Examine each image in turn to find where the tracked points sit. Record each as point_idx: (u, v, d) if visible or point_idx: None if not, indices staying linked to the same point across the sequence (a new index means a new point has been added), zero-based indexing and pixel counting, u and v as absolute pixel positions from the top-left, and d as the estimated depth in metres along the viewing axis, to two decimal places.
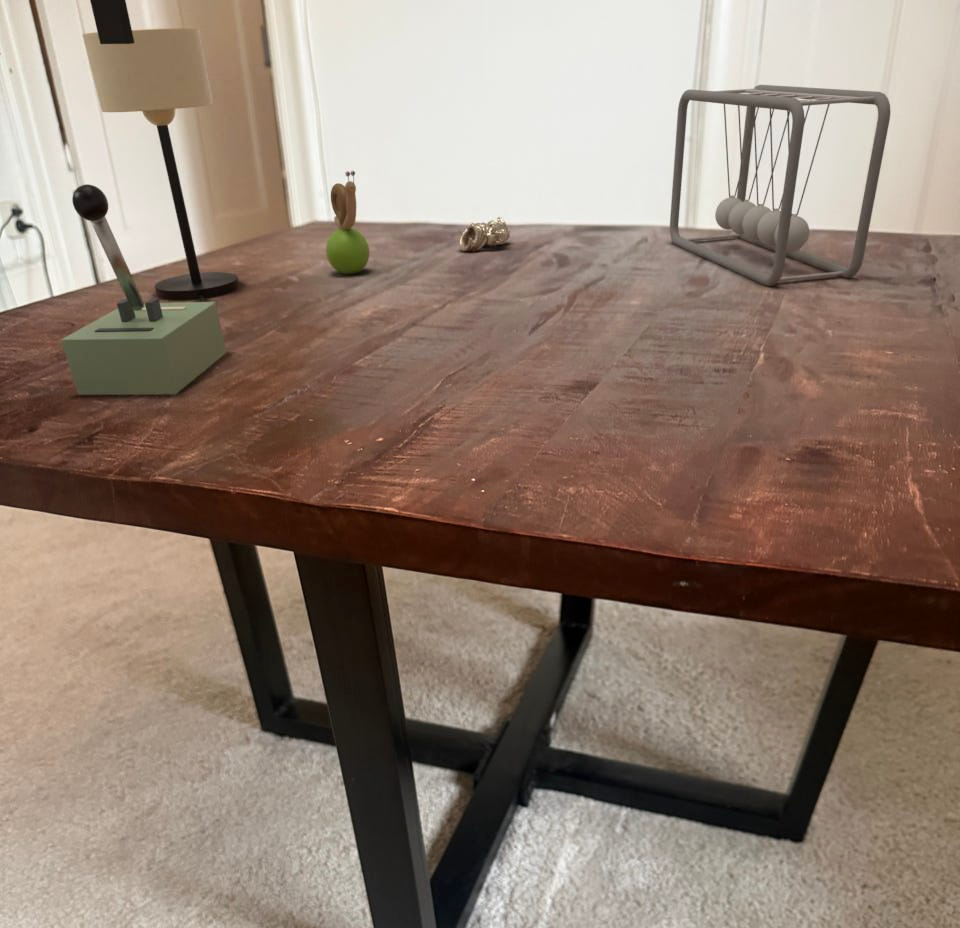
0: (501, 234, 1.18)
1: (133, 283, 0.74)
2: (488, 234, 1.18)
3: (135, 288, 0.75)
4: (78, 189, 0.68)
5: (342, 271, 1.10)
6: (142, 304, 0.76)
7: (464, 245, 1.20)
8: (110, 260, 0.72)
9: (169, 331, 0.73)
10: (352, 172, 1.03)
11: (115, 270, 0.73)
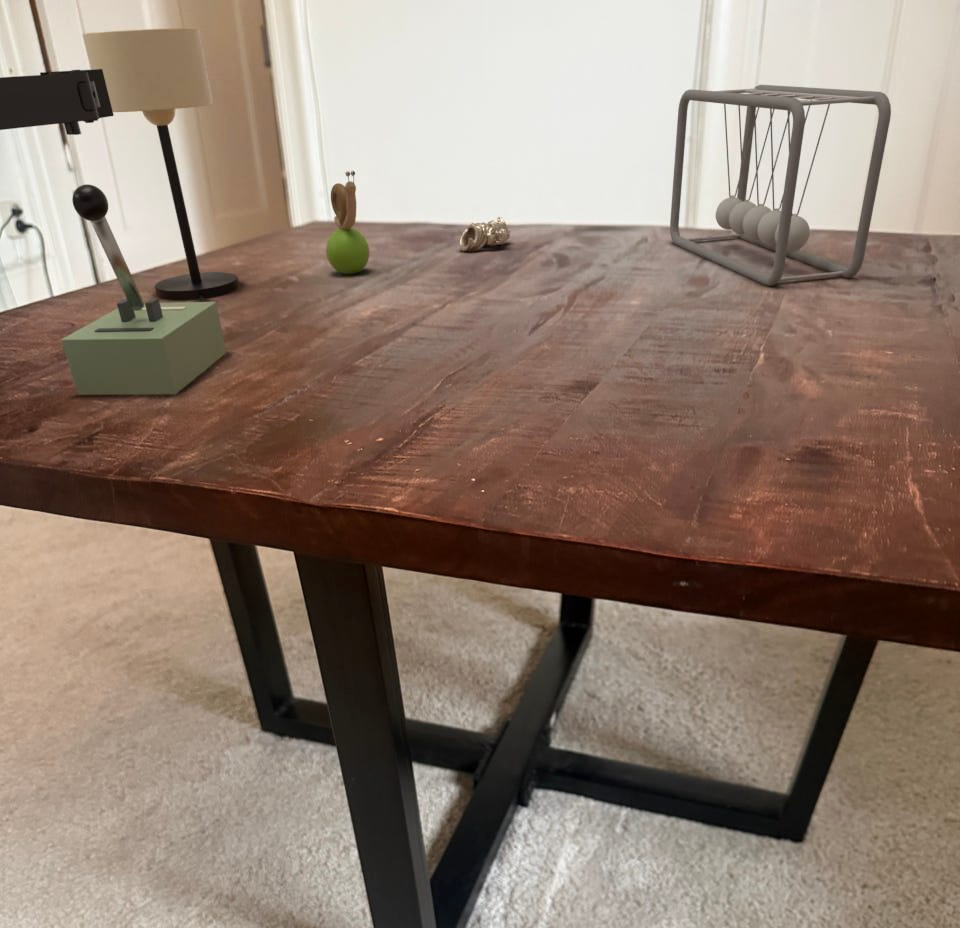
0: (501, 234, 1.18)
1: (133, 283, 0.74)
2: (488, 234, 1.18)
3: (135, 288, 0.75)
4: (78, 189, 0.68)
5: (342, 271, 1.10)
6: (142, 304, 0.76)
7: (464, 245, 1.20)
8: (110, 260, 0.72)
9: (169, 331, 0.73)
10: (352, 172, 1.03)
11: (115, 270, 0.73)
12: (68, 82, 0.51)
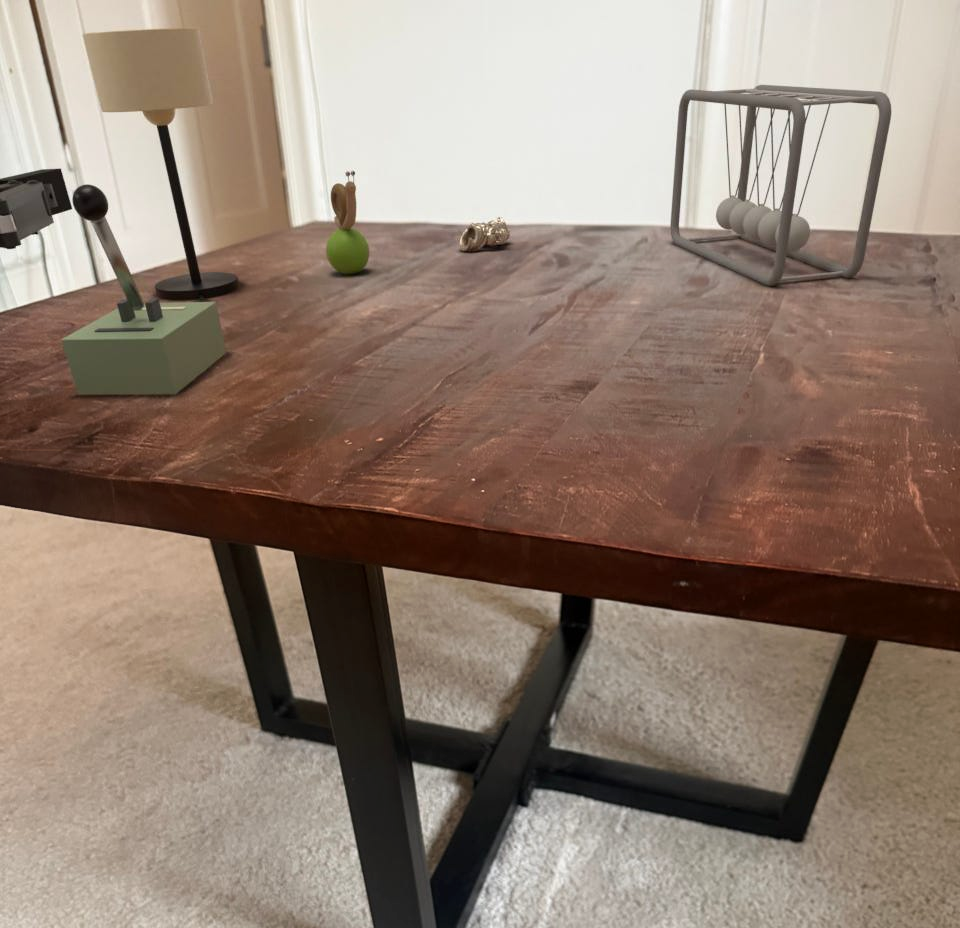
0: (501, 234, 1.18)
1: (133, 283, 0.74)
2: (488, 234, 1.18)
3: (135, 288, 0.75)
4: (78, 189, 0.68)
5: (342, 271, 1.10)
6: (142, 304, 0.76)
7: (464, 245, 1.20)
8: (110, 260, 0.72)
9: (169, 331, 0.73)
10: (352, 172, 1.03)
11: (115, 270, 0.73)
12: (38, 192, 0.56)
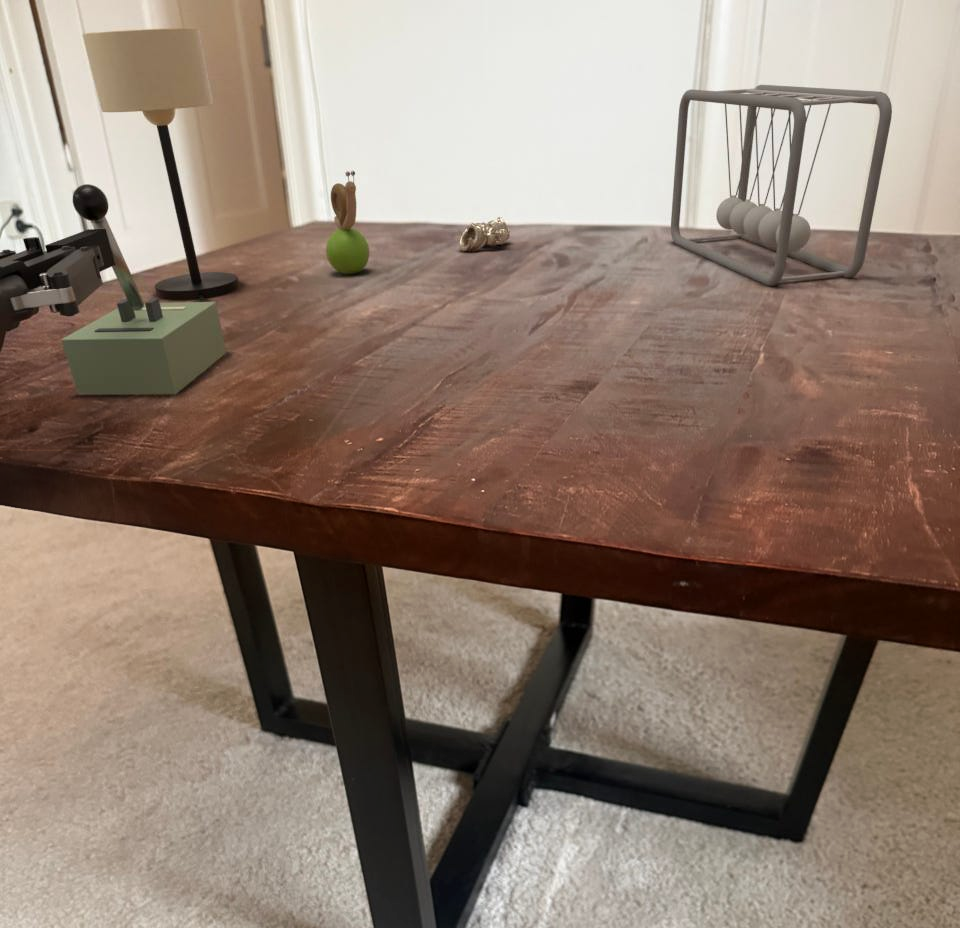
0: (501, 234, 1.18)
1: (133, 283, 0.74)
2: (488, 234, 1.18)
3: (135, 288, 0.75)
4: (78, 189, 0.68)
5: (342, 271, 1.10)
6: (142, 304, 0.76)
7: (464, 245, 1.20)
8: None
9: (169, 331, 0.73)
10: (352, 172, 1.03)
11: (115, 270, 0.73)
12: (90, 258, 0.62)
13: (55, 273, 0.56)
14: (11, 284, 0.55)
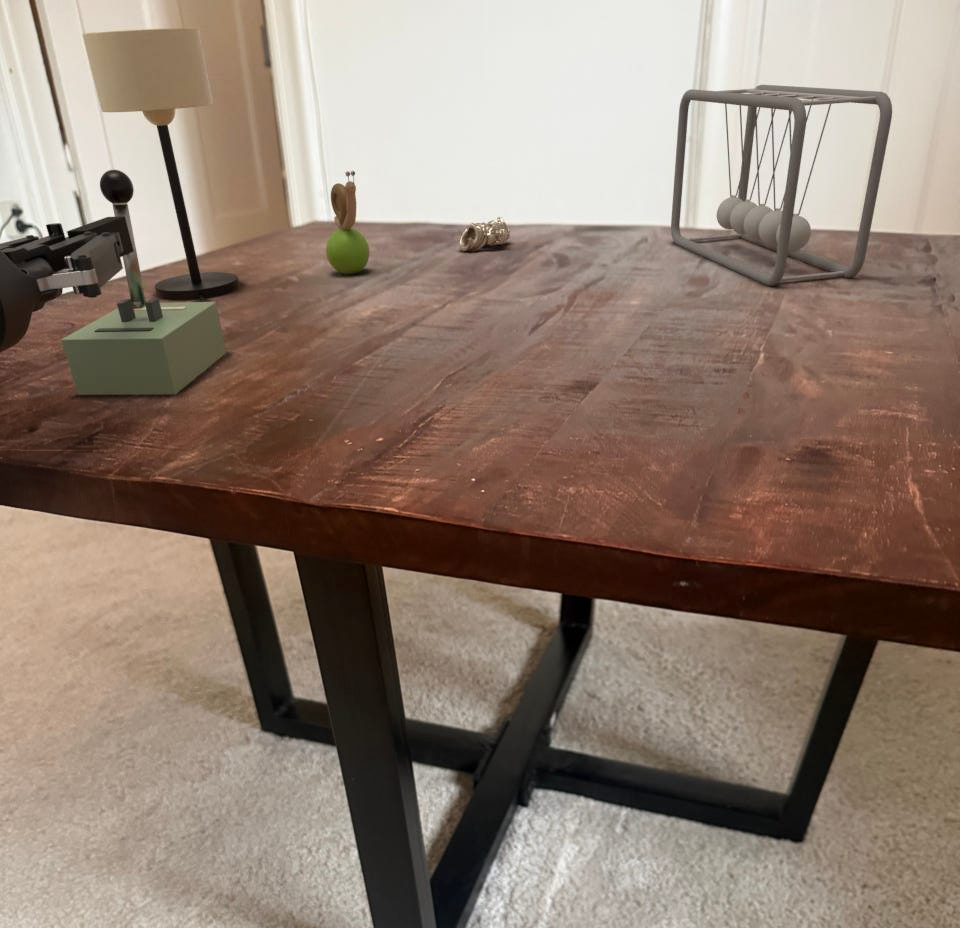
0: (501, 234, 1.18)
1: (140, 277, 0.75)
2: (488, 234, 1.18)
3: (140, 283, 0.76)
4: None
5: (342, 271, 1.10)
6: (144, 302, 0.76)
7: (464, 245, 1.20)
8: None
9: (169, 331, 0.73)
10: (352, 172, 1.03)
11: (125, 258, 0.74)
12: (111, 243, 0.65)
13: (79, 256, 0.58)
14: (37, 266, 0.57)
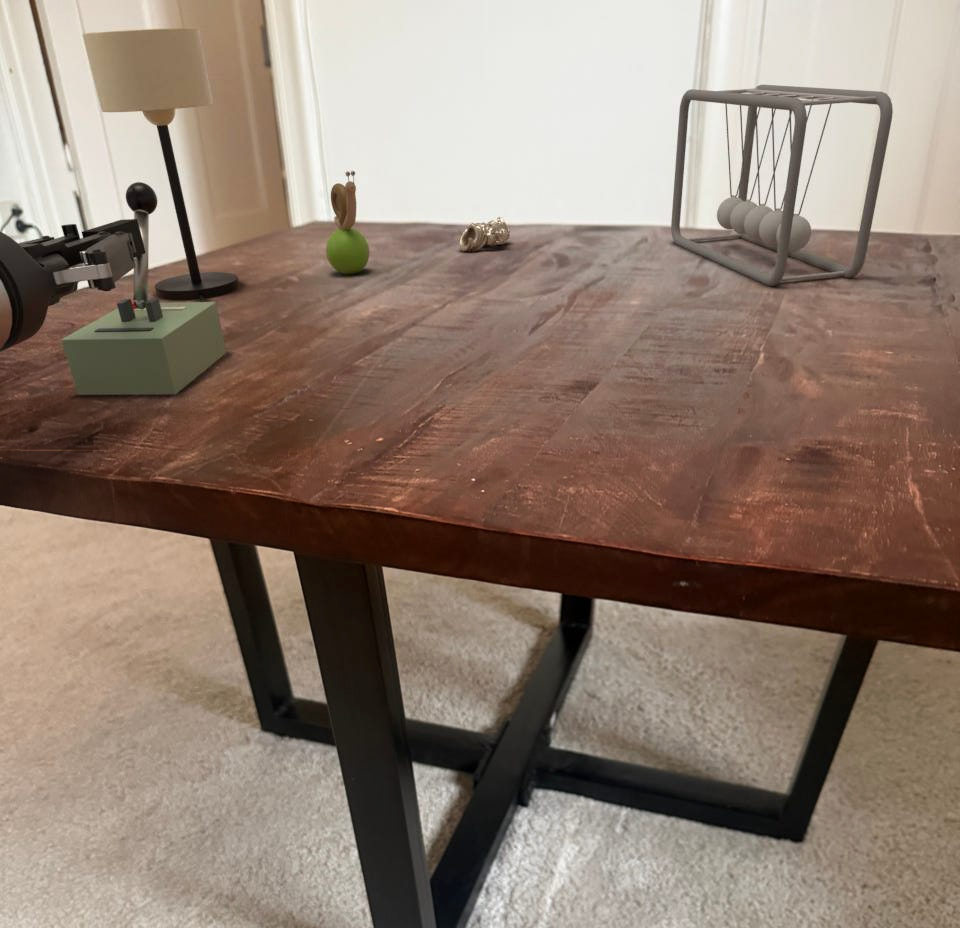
0: (501, 234, 1.18)
1: (146, 279, 0.76)
2: (488, 234, 1.18)
3: (146, 284, 0.76)
4: None
5: (342, 271, 1.10)
6: None
7: (464, 245, 1.20)
8: None
9: (169, 331, 0.73)
10: (352, 172, 1.03)
11: (135, 259, 0.76)
12: (124, 242, 0.67)
13: (94, 250, 0.60)
14: (54, 260, 0.59)
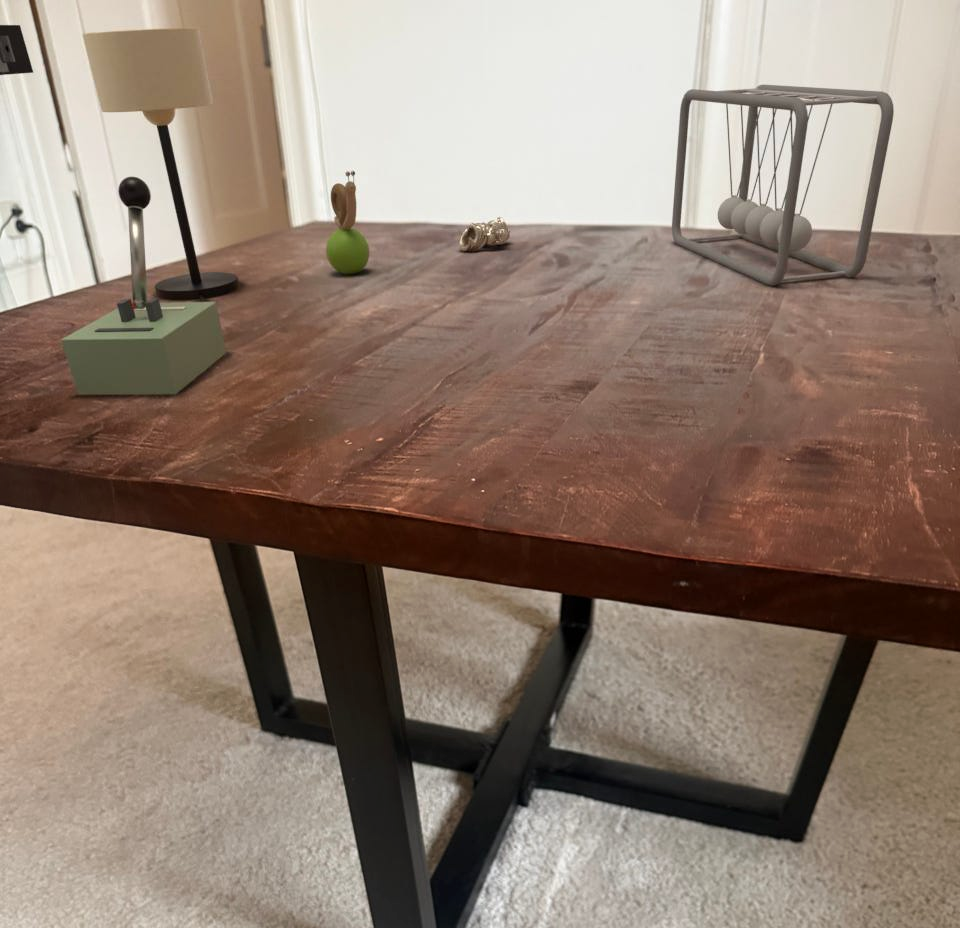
0: (501, 234, 1.18)
1: (144, 278, 0.76)
2: (488, 234, 1.18)
3: (144, 283, 0.76)
4: (128, 177, 0.75)
5: (342, 271, 1.10)
6: (145, 301, 0.76)
7: (464, 245, 1.20)
8: (131, 247, 0.75)
9: (169, 331, 0.73)
10: (352, 172, 1.03)
11: (132, 258, 0.75)
12: None
13: None
14: None
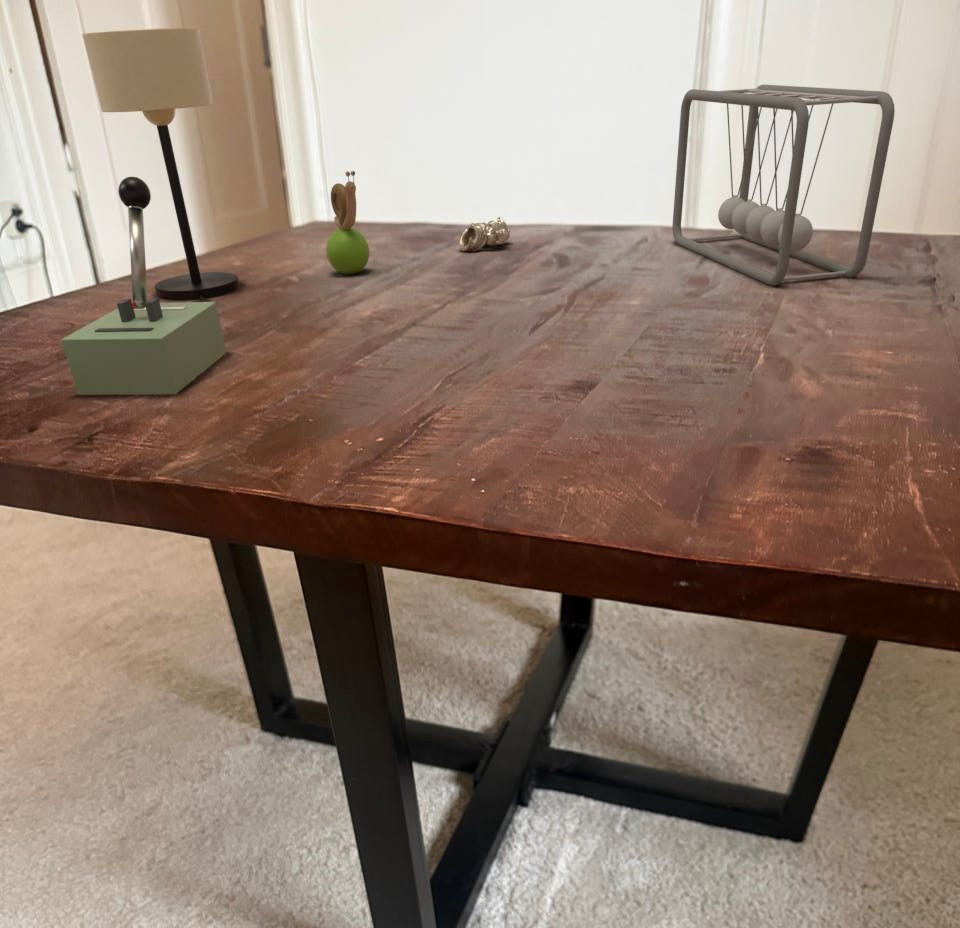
0: (501, 234, 1.18)
1: (144, 278, 0.76)
2: (488, 234, 1.18)
3: (144, 283, 0.76)
4: (128, 177, 0.75)
5: (342, 271, 1.10)
6: (145, 301, 0.76)
7: (464, 245, 1.20)
8: (131, 247, 0.75)
9: (169, 331, 0.73)
10: (352, 172, 1.03)
11: (132, 258, 0.75)
12: None
13: None
14: None
